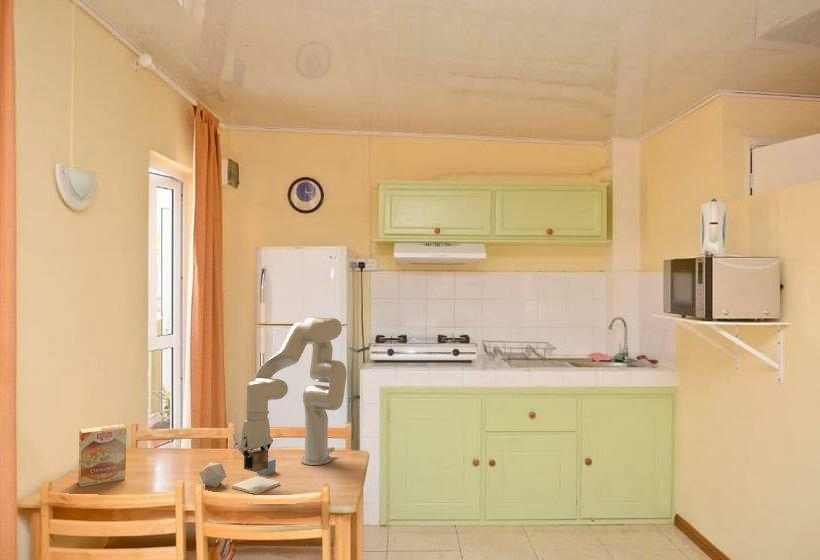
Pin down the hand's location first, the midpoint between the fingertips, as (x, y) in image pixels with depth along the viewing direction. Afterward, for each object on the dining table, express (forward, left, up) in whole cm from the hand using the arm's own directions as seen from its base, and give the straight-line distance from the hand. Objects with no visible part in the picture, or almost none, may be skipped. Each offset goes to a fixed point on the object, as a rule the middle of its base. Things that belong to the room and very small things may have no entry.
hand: (255, 465), depth 204 cm
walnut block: (0, 0, -1) cm, 1 cm away
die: (+8, -14, -8) cm, 18 cm away
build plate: (0, 0, -8) cm, 8 cm away
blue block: (-13, -9, -8) cm, 18 cm away
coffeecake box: (+28, -52, -8) cm, 59 cm away
